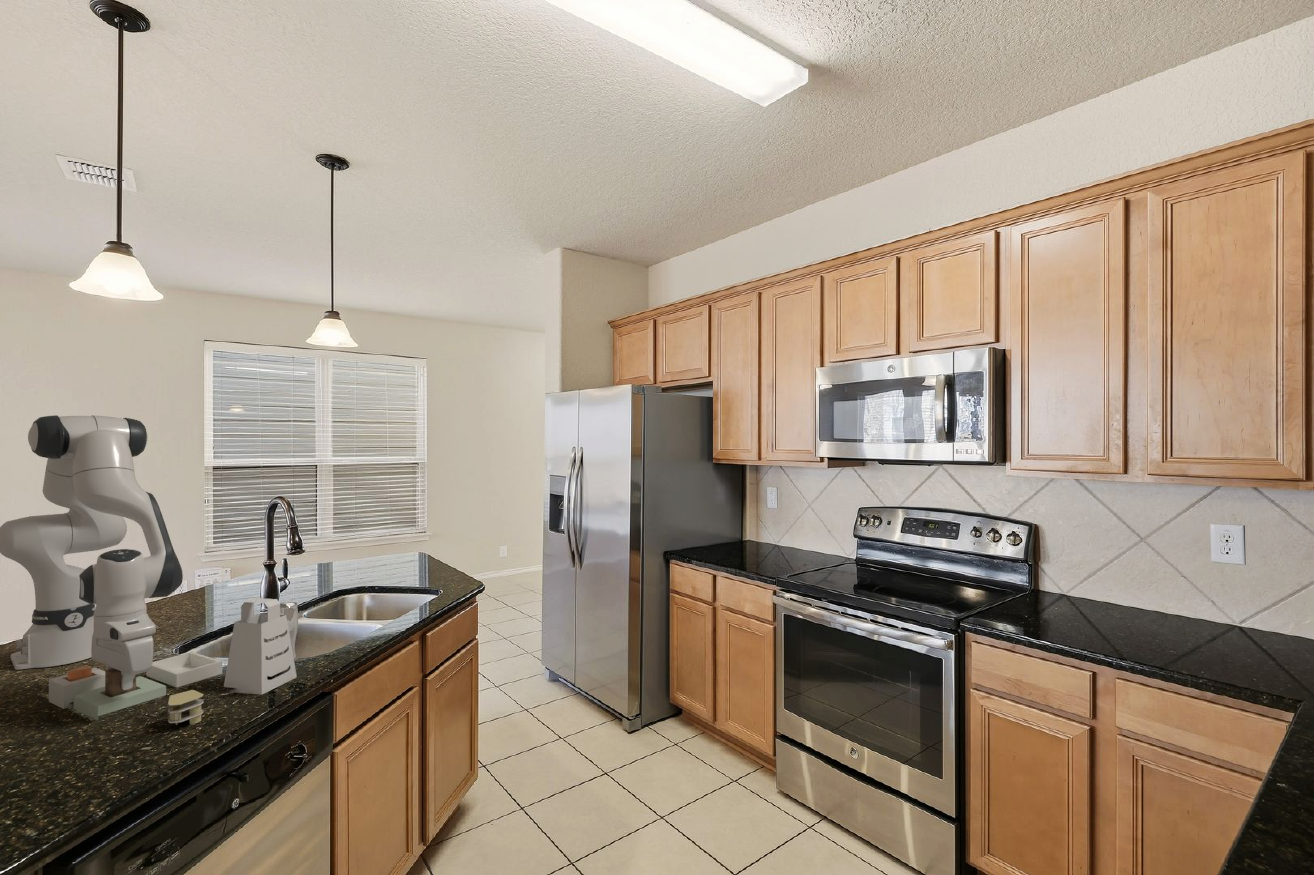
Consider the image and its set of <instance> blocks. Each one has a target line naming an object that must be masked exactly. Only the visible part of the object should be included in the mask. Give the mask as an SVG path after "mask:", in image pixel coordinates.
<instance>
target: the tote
mask: <svg viewBox="0 0 1314 875" xmlns="http://www.w3.org/2000/svg"><path fill="white" fill-rule="evenodd" d="M219 675H223V661H222V660H220V659H216V658H214V657H211V656H207V655H203V654H200V653H197V652H194V651H188V652H185V653H181V654H177V655H174V656H171V657H167V658H163V659H160V660H156V661H153V662H152V666H151V668H150V670H149V671H146V677H148V678H151V679H153V680H154V681H157V682H158V681H159V682H161V683H164V684H165V685H169V686H172V687H174V688H180V687H183V686H186V685H190V684H192V683H193V684H194V683H196V682H199V681H203V680H205V679H206V680H207V679H209V678H213V677H216V676H219Z"/></svg>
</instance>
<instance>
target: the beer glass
mask: <svg viewBox="0 0 1314 875" xmlns="http://www.w3.org/2000/svg"><path fill="white" fill-rule="evenodd" d="M279 603H280V615H286V617H287V623H288V629H289V634H290V640H291V646H292V652H293V658H294V659H296V658H297V655H296V651H295V650H296V649H295V647H296V638H297V634H298V627H299V610H298V602H295V601H284V602H279ZM266 622H268V621H266ZM280 635H282V634H280ZM278 638H280V636H279V637H278ZM270 639H273V638H270ZM274 639H277V637H276V636H275V637H274ZM281 653H282V654H283V653H284V651H283V652H281ZM277 656H278V655H276V656H275V657H277ZM271 657H272V658H274V655H273V656H271ZM270 660H271V659H270Z"/></svg>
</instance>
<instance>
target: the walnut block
mask: <svg viewBox="0 0 1314 875" xmlns="http://www.w3.org/2000/svg"><path fill="white" fill-rule="evenodd" d="M104 671H105V695H106V696H108V697H110V698H111V697H114V696H118V695H121V694H124V693H128V692H131V691H135V690H136V678H137V674H135V676H134V679H133V687H132V688H131V689H127V690H122V689H120V681H122V676H123V675H121V671H119V670H117V669H114V668H112V669H108V670H106V669H105V670H104Z"/></svg>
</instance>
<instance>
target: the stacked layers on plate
mask: <svg viewBox="0 0 1314 875" xmlns="http://www.w3.org/2000/svg"><path fill="white" fill-rule="evenodd" d="M203 696H204V693H201V692H199V691H197V690H194V689H190V690H187V691H183V692H179V693H176V694H172V695H169V698H168V702H167V704H168V708H167V712H168V713H169V715H168V719H167V722H168V723H169V724H175V725H176V726H178V724H179V723H183V722H185V721H187V722H189V725H194V724H197V723H198V724H199V723H200V722H201V721H202V714H203V713H204V709H202V704H204V703H205V702H204V700H203V699H202V697H203Z"/></svg>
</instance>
